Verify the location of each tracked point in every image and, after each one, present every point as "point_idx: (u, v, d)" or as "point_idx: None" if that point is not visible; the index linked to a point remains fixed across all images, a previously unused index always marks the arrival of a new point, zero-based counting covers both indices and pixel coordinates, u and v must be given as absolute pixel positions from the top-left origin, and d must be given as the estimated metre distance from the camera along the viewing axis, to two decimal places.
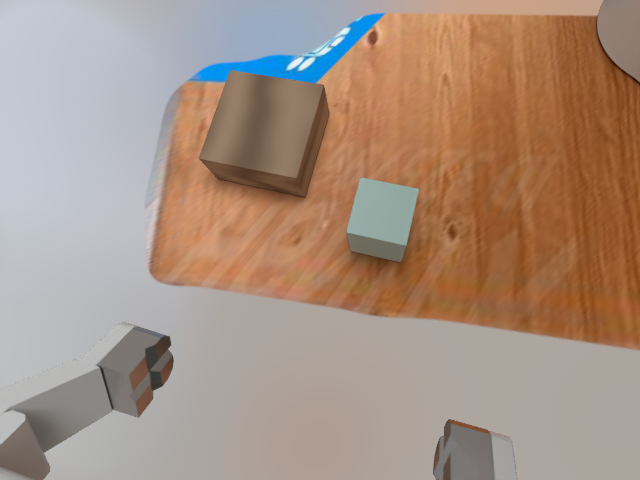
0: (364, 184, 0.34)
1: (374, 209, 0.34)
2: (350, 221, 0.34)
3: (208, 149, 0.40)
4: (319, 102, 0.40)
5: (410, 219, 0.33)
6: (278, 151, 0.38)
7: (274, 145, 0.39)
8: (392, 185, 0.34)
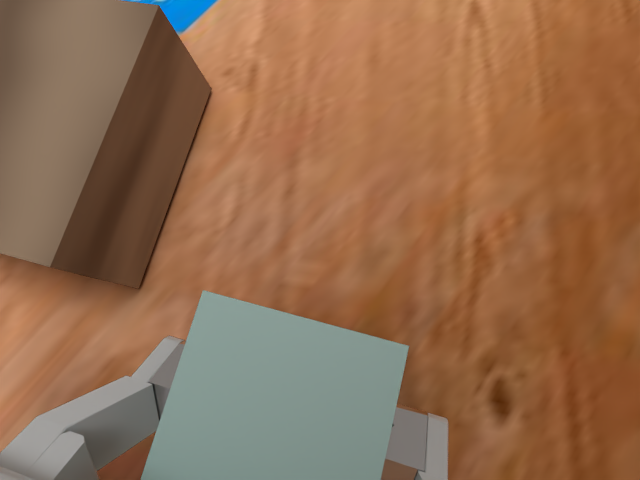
0: (214, 316, 0.10)
1: (240, 424, 0.09)
2: (149, 468, 0.09)
3: None
4: (145, 52, 0.15)
5: (373, 478, 0.08)
6: (15, 185, 0.14)
7: (8, 167, 0.14)
8: (311, 327, 0.09)
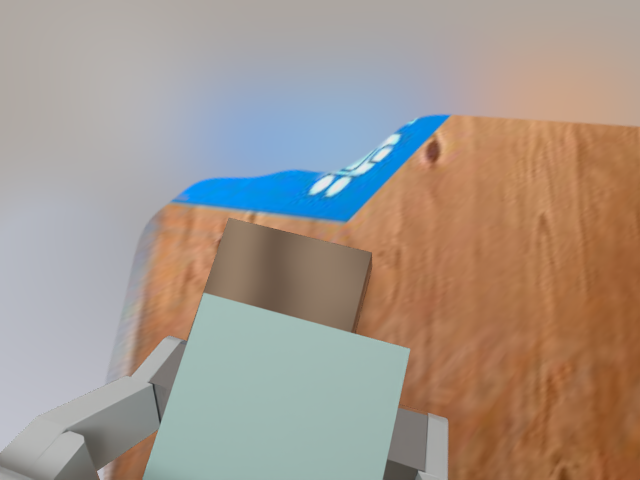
0: (215, 319, 0.10)
1: (241, 426, 0.09)
2: (150, 471, 0.09)
3: None
4: (364, 280, 0.26)
5: None
6: None
7: None
8: (312, 330, 0.09)
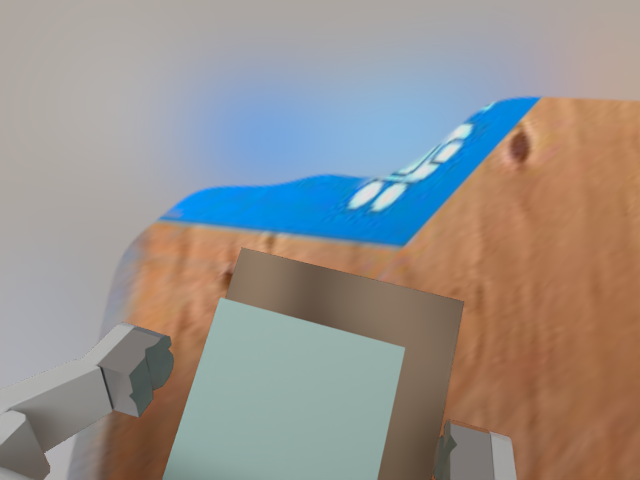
0: (231, 321, 0.11)
1: (254, 417, 0.10)
2: (174, 456, 0.10)
3: None
4: None
5: (374, 465, 0.09)
6: None
7: None
8: (318, 331, 0.10)
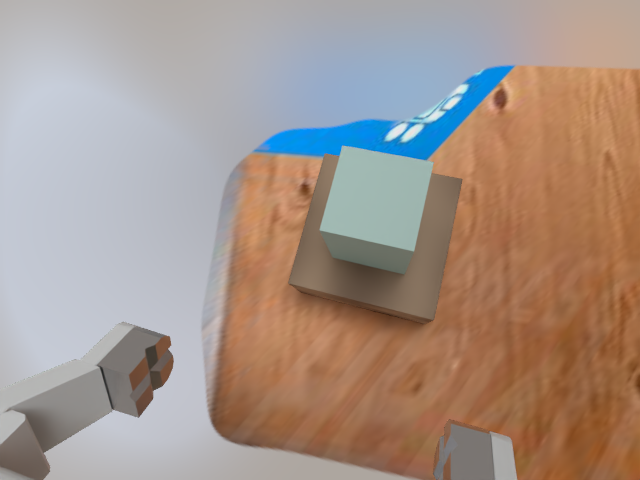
0: (349, 155, 0.22)
1: (363, 195, 0.22)
2: (326, 213, 0.22)
3: (301, 270, 0.28)
4: (456, 204, 0.28)
5: (420, 209, 0.21)
6: (403, 277, 0.27)
7: None
8: (392, 157, 0.22)
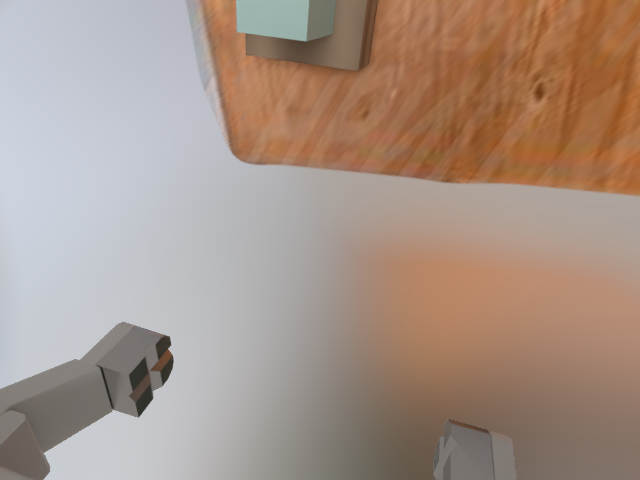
0: None
1: None
2: (238, 15, 0.27)
3: (252, 41, 0.35)
4: None
5: (306, 2, 0.26)
6: (332, 37, 0.33)
7: None
8: None
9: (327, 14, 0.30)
